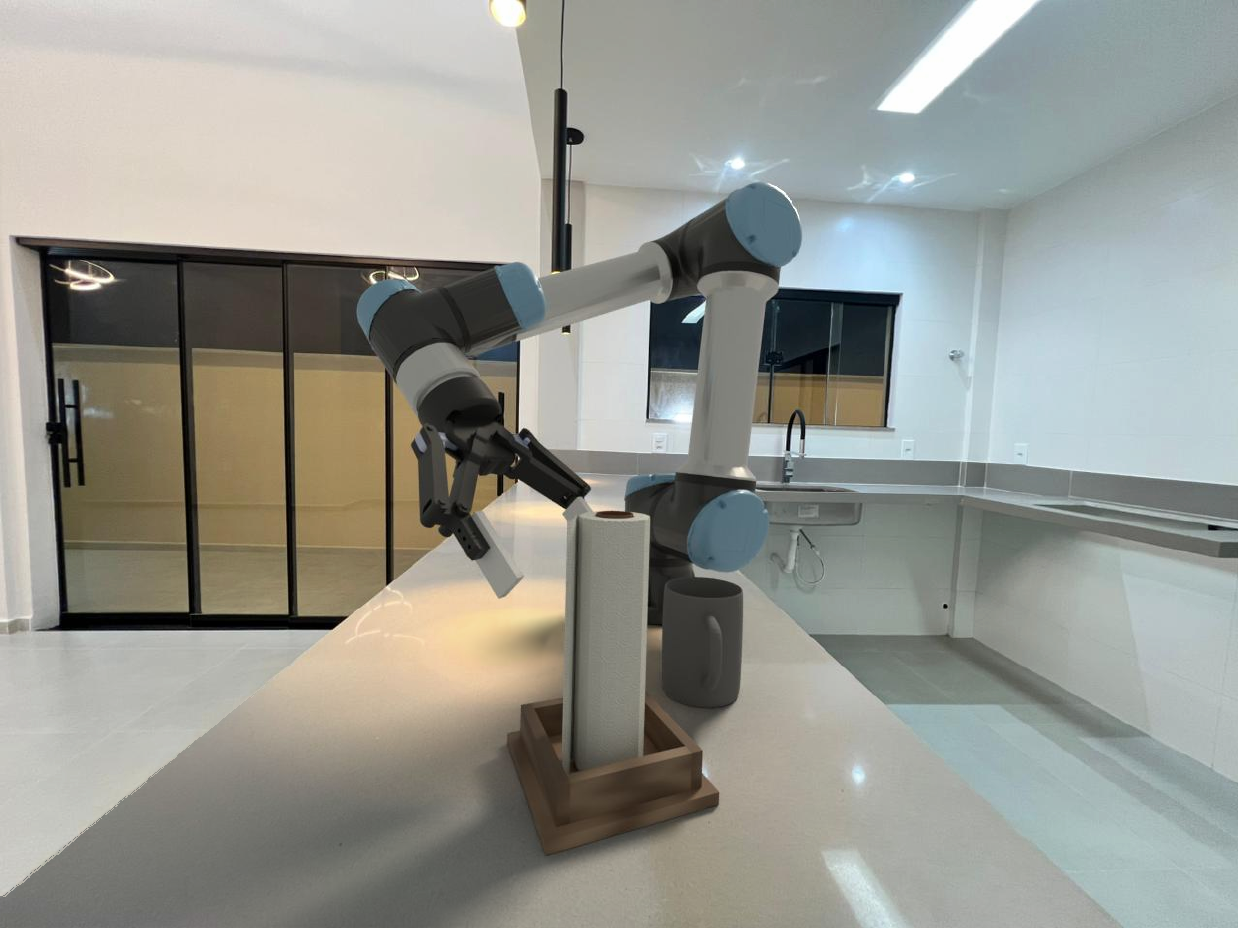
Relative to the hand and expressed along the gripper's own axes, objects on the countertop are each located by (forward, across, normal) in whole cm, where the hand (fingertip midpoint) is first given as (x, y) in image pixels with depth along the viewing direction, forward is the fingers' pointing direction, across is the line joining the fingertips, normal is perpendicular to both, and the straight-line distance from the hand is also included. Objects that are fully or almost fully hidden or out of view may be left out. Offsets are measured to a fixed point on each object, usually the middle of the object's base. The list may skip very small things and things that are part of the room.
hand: (566, 570), depth 45 cm
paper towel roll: (+14, 0, -9) cm, 17 cm away
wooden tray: (+15, -1, -9) cm, 18 cm away
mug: (+17, -18, -8) cm, 25 cm away
